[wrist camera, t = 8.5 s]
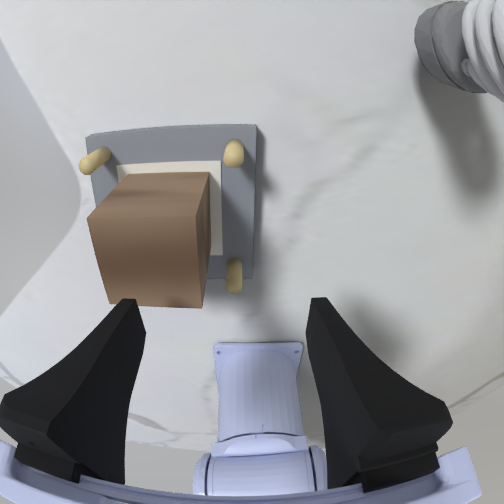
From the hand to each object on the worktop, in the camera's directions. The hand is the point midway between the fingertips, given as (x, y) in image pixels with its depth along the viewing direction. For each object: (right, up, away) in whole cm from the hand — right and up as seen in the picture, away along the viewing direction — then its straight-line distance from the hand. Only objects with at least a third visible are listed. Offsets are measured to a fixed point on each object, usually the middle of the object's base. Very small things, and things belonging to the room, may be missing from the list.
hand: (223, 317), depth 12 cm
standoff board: (-4, +6, +7) cm, 10 cm away
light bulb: (+12, +16, +2) cm, 20 cm away
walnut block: (-4, +5, +6) cm, 9 cm away
